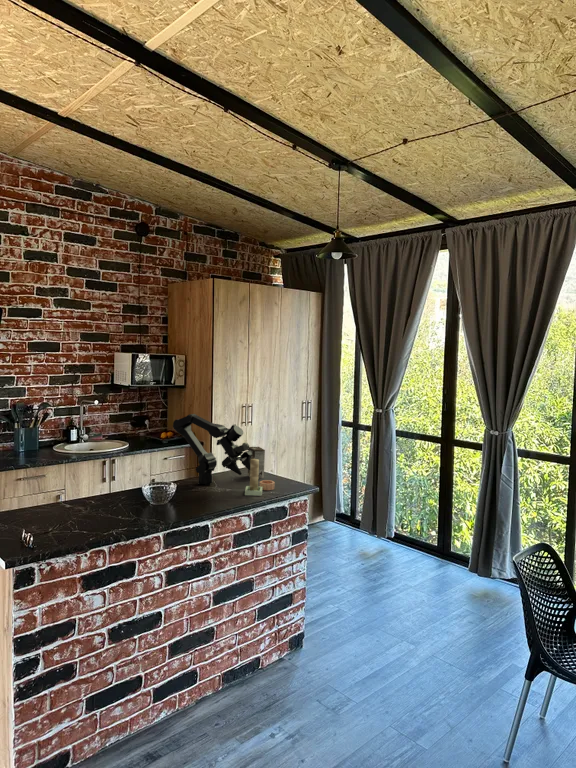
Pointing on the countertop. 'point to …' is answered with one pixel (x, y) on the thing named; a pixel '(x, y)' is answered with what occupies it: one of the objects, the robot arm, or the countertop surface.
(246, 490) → the tray
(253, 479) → the dowel
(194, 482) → the countertop surface
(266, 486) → the holder
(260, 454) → the coffee box
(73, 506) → the countertop surface
